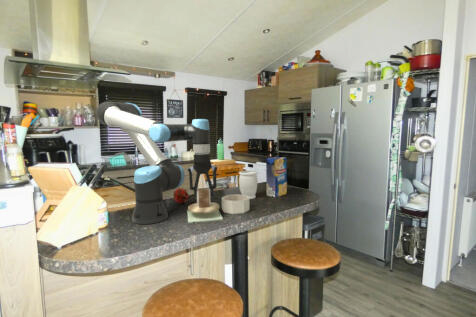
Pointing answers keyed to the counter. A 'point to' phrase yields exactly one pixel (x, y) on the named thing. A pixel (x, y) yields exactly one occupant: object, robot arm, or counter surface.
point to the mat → (203, 216)
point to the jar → (248, 183)
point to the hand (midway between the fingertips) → (203, 203)
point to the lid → (203, 203)
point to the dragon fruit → (181, 195)
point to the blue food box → (276, 176)
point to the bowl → (235, 204)
